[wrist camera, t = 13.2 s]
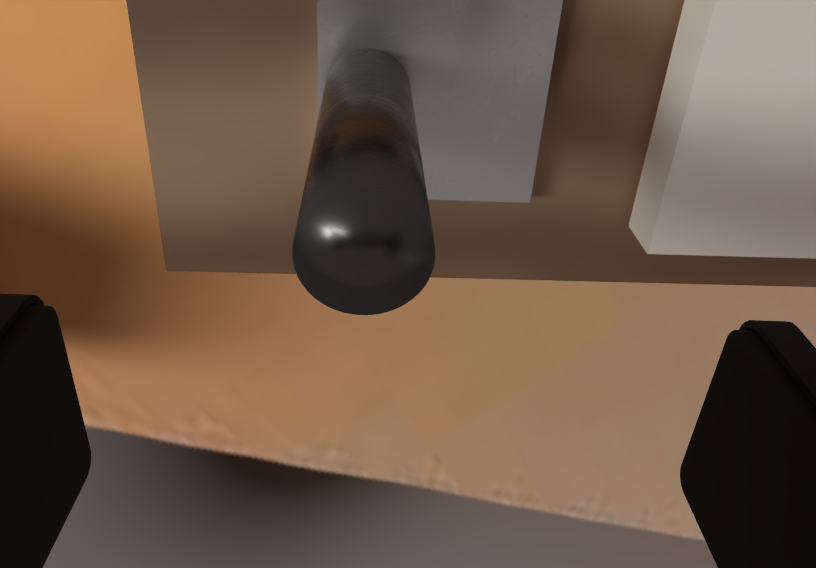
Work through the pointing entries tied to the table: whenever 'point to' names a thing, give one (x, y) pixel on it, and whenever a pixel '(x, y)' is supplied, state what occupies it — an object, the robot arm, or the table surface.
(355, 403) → the table surface
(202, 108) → the walnut block
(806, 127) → the tile
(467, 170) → the grey plate with peg
